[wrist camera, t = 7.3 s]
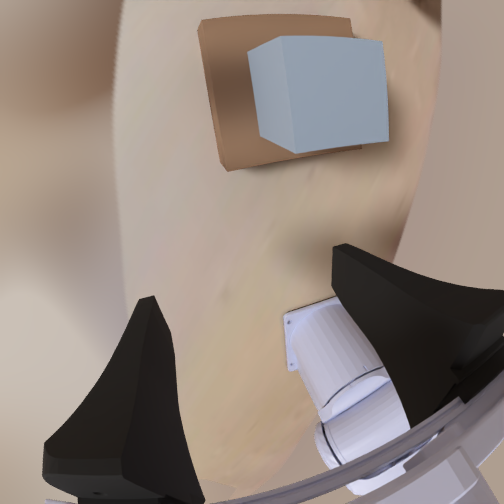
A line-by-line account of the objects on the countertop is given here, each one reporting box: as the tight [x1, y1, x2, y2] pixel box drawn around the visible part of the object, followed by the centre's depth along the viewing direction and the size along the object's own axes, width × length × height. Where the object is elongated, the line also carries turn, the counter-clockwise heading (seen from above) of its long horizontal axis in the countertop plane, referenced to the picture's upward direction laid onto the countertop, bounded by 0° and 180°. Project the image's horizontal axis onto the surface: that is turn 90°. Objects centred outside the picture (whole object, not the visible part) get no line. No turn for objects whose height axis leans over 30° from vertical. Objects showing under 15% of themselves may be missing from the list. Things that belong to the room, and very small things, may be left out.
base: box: [197, 14, 362, 172], centre depth 16 cm, size 9×9×3 cm
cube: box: [247, 36, 389, 154], centre depth 13 cm, size 5×5×5 cm
